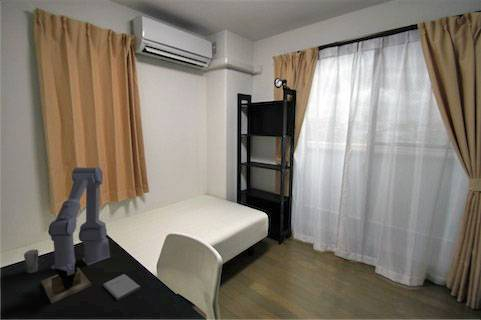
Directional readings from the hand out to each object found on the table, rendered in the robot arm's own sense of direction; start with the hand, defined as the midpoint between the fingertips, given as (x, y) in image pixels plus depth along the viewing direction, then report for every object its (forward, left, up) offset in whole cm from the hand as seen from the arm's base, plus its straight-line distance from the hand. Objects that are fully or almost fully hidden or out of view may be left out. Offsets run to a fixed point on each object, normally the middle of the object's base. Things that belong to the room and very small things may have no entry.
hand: (66, 284), depth 84 cm
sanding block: (0, 0, -1) cm, 1 cm away
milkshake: (+6, -24, -2) cm, 25 cm away
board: (0, -3, -2) cm, 4 cm away
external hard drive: (-14, +14, -3) cm, 20 cm away
